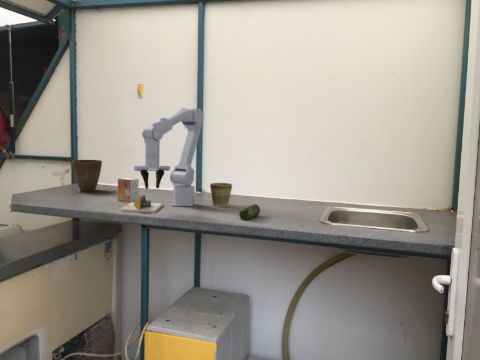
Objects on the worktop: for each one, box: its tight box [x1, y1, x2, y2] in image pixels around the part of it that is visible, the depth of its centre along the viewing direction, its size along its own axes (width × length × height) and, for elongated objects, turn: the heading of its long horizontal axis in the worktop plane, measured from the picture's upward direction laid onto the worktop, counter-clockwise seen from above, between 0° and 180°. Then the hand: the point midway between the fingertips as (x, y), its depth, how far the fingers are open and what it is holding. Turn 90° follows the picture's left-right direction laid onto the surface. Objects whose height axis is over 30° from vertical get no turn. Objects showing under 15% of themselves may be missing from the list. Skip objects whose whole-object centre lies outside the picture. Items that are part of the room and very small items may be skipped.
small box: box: [117, 177, 140, 203], centre depth 189 cm, size 8×6×10 cm
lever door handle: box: [134, 194, 152, 208], centre depth 170 cm, size 12×7×4 cm, turn 0°
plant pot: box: [71, 159, 103, 193], centre depth 215 cm, size 15×15×16 cm
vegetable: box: [238, 203, 261, 220], centre depth 162 cm, size 14×5×5 cm, turn 155°
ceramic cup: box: [209, 182, 233, 208], centre depth 186 cm, size 13×10×10 cm
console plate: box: [120, 202, 163, 213], centre depth 173 cm, size 14×16×1 cm
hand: (152, 188), depth 167 cm, fingers open, 4 cm apart
